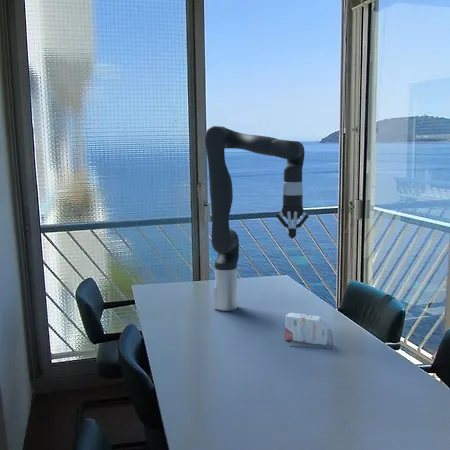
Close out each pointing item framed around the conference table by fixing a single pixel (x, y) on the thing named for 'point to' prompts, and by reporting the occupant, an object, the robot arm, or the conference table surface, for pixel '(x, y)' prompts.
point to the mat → (303, 344)
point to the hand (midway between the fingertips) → (292, 238)
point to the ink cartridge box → (305, 328)
